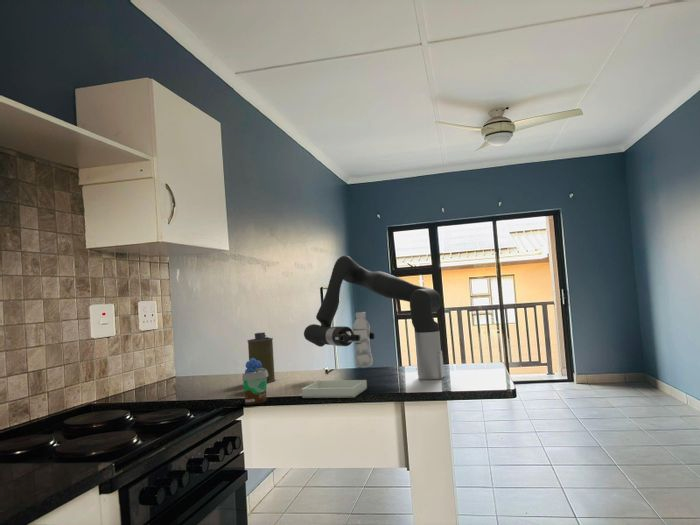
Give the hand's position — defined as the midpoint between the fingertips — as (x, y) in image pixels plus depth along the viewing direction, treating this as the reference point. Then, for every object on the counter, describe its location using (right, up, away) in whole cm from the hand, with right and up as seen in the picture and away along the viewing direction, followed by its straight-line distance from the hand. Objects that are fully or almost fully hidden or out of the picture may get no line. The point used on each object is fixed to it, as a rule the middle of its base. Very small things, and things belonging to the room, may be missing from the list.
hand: (366, 337), depth 187 cm
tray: (-11, -17, -12) cm, 24 cm away
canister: (-42, -22, +25) cm, 53 cm away
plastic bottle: (-1, -11, +1) cm, 11 cm away
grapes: (-41, -21, +4) cm, 46 cm away
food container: (-36, -19, -17) cm, 44 cm away
